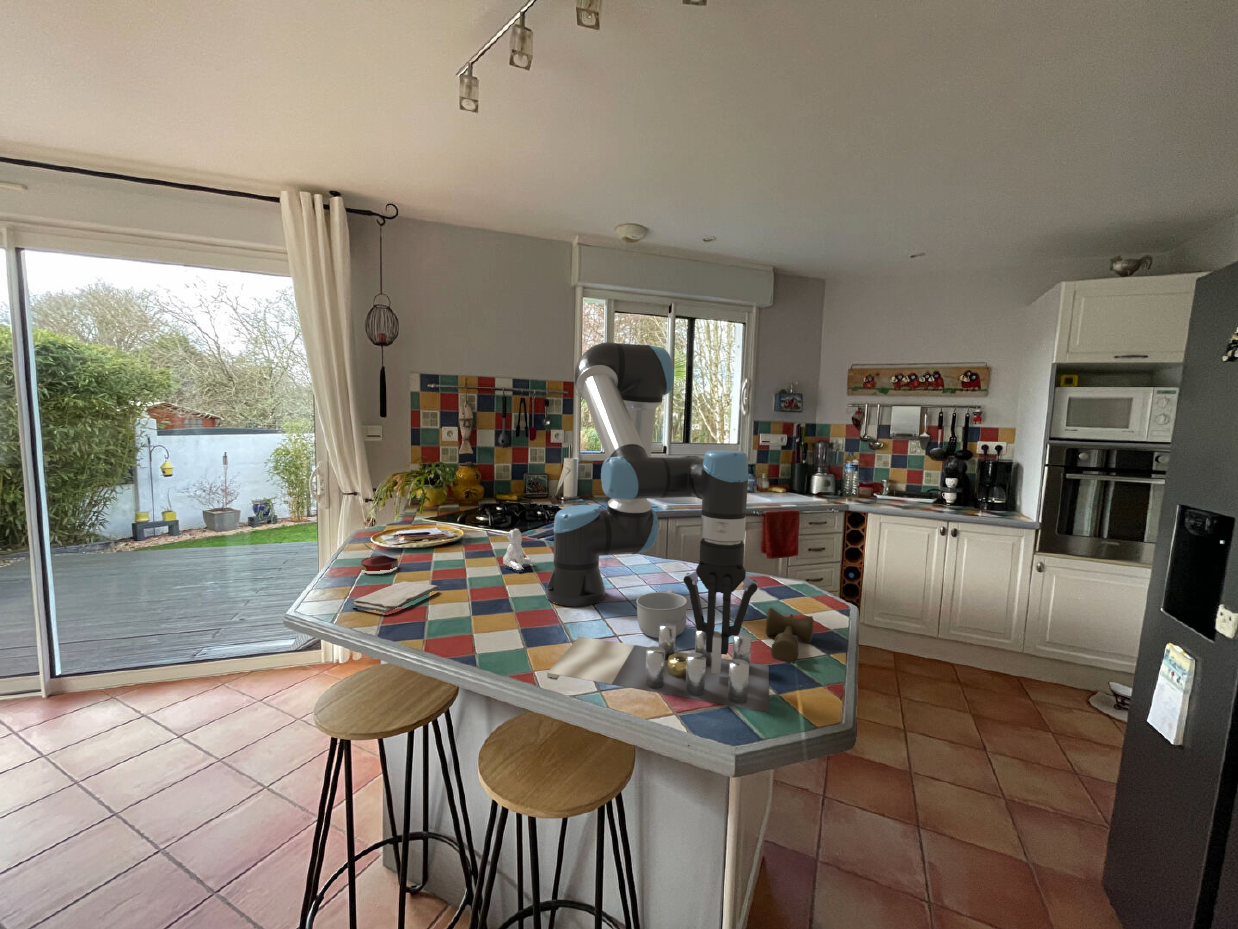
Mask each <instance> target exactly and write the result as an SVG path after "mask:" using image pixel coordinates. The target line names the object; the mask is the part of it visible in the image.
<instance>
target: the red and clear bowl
mask: <svg viewBox="0 0 1238 929" xmlns="http://www.w3.org/2000/svg"><path fill="white" fill-rule="evenodd" d="M362 544H363V545H364V546H365V547H366V548H367V549H370V550H372V551H374V552H376V553H378V554H379V555H376V556H371V557H366V558H364V559H362V560H361V561H360V565H361V566H360V568H361V570H365V571H380V570H390V569H393V568H395V567H397V566H398V567H399V561H398V560H399V559H398V557H397V556H394V555H390V554H386V553H383V552H379V551H377V550H375V549H374V548H371V546H369V545H368V544H366V543H365V542H363V543H362ZM361 570H360V571H361Z"/></svg>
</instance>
